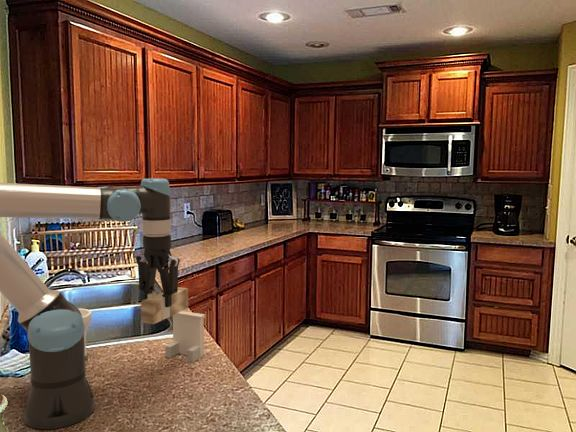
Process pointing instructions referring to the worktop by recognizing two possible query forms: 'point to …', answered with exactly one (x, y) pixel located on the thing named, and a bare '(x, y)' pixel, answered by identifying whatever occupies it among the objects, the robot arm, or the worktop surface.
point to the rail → (152, 306)
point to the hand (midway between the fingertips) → (159, 316)
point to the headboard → (187, 336)
